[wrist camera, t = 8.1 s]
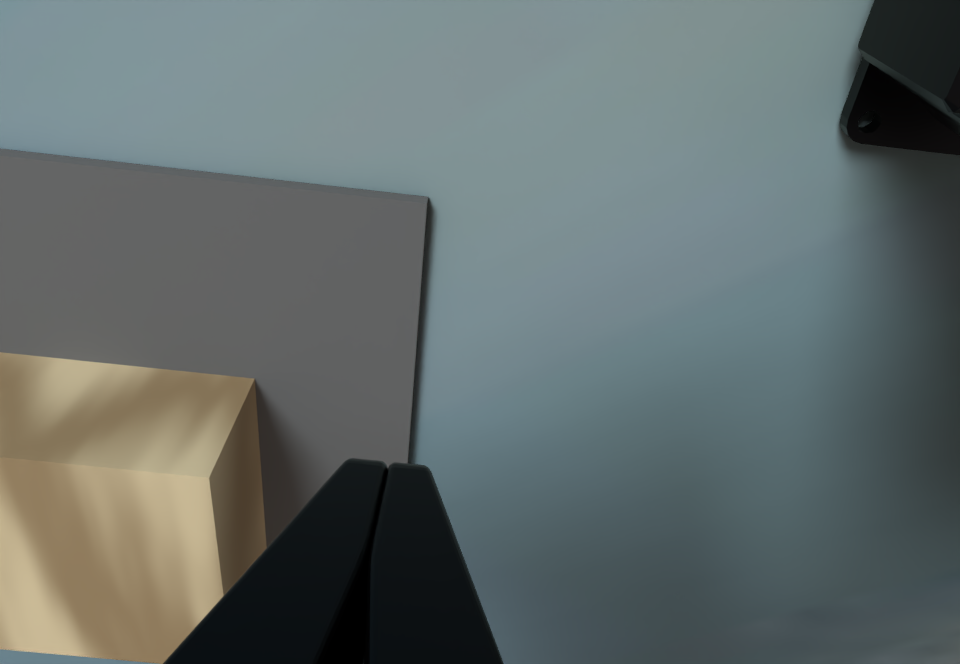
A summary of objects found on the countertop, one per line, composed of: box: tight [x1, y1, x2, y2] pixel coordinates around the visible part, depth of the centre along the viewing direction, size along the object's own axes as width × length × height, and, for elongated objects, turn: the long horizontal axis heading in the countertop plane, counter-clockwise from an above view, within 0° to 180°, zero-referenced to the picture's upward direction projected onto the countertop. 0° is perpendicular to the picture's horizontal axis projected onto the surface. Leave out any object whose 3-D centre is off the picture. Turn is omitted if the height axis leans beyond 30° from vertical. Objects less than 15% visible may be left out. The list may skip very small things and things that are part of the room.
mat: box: [0, 149, 428, 547], centre depth 24 cm, size 15×20×1 cm
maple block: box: [0, 352, 267, 664], centre depth 22 cm, size 4×8×10 cm
